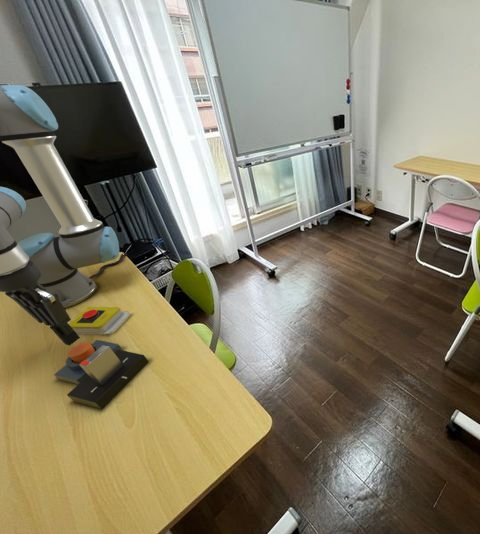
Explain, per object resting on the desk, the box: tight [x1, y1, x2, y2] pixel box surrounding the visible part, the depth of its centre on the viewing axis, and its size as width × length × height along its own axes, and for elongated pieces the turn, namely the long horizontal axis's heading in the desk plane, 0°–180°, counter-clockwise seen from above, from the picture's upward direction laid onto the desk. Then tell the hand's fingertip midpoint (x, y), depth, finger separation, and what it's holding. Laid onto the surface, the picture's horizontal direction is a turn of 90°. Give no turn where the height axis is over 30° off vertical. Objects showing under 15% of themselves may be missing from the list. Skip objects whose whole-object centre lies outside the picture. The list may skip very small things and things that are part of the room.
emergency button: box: [68, 306, 131, 336], centre depth 93 cm, size 9×4×15 cm
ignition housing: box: [53, 339, 123, 385], centre depth 81 cm, size 12×8×4 cm, turn 166°
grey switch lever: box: [80, 345, 124, 385], centre depth 73 cm, size 6×2×8 cm, turn 166°
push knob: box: [67, 341, 95, 363], centre depth 79 cm, size 5×5×3 cm
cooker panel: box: [66, 350, 149, 410], centre depth 76 cm, size 14×11×3 cm
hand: (72, 340), depth 77 cm, fingers closed
